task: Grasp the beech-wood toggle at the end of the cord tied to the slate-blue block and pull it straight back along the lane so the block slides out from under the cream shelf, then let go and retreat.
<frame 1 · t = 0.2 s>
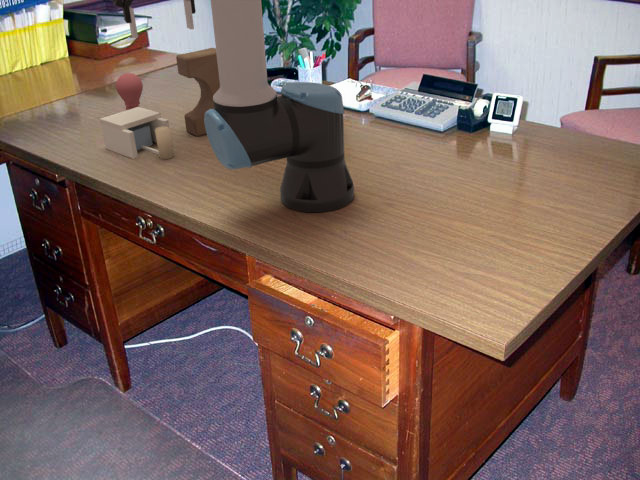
hand: (163, 32, 166), 27 cm above the table, fingers open, 13 cm apart
tethered block: (135, 145, 177), on the table
decorative block: (209, 130, 186), on the table
shelf lane: (141, 147, 176), on the table
light bulb: (134, 116, 199), on the table
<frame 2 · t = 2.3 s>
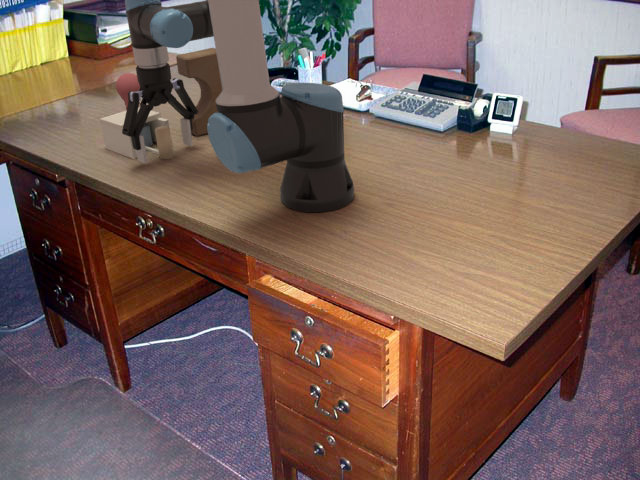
hand: (166, 153, 169), 1 cm above the table, fingers open, 13 cm apart
nothing on the table moved.
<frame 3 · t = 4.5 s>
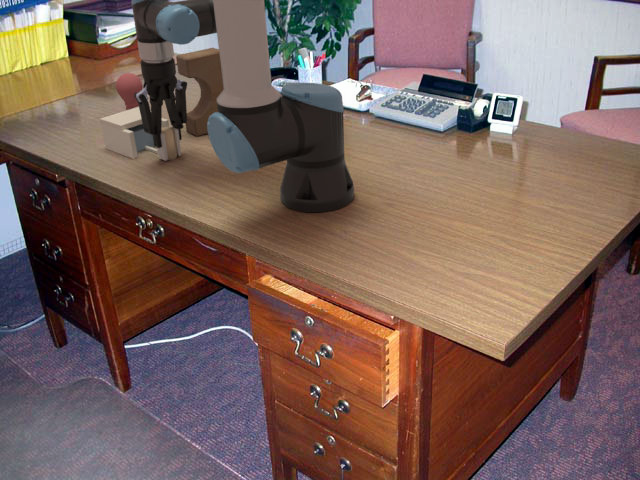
hand: (170, 156, 169), 0 cm above the table, fingers closed on tethered block, 3 cm apart
tethered block: (139, 146, 177), on the table, touching gripper
everything else where it was.
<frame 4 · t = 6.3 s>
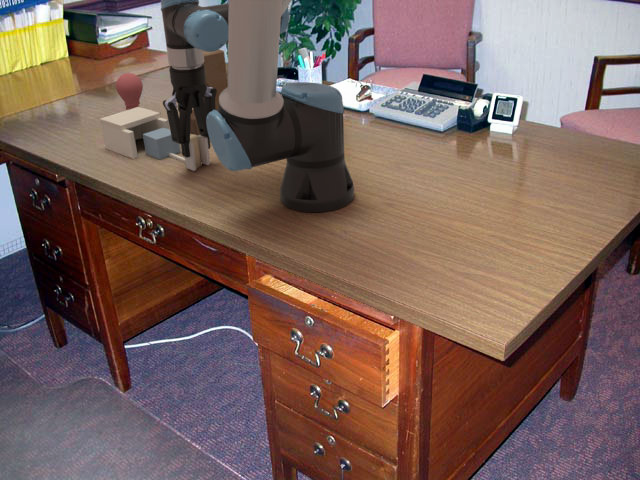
hand: (198, 165, 163), 0 cm above the table, fingers closed on tethered block, 3 cm apart
tethered block: (163, 153, 172), on the table, touching gripper
everything else where it was.
when the fingers open (0 cm above the table, at t = 8.1 s): tethered block stays where it is, on the table.
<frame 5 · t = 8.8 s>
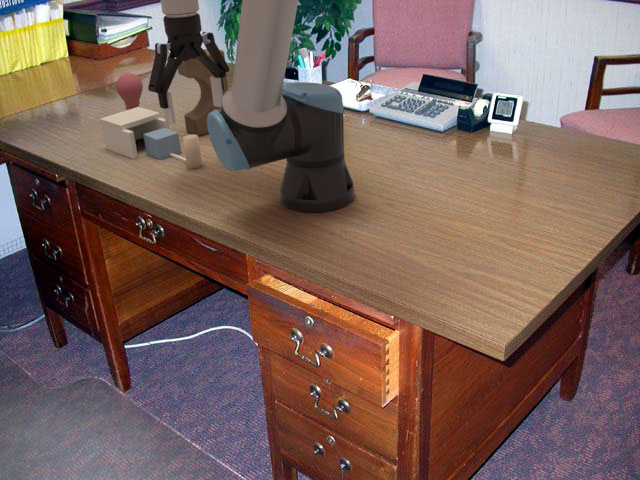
hand: (195, 114, 155), 13 cm above the table, fingers open, 13 cm apart
tethered block: (163, 153, 172), on the table
everything else where it was.
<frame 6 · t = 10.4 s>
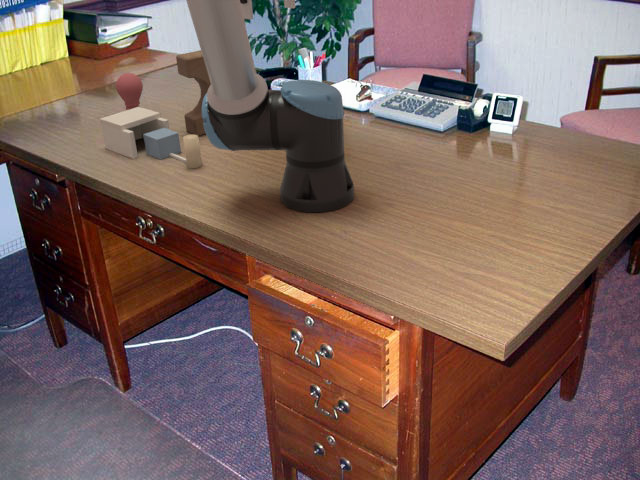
hand: (269, 13, 158), 31 cm above the table, fingers open, 13 cm apart
nothing on the table moved.
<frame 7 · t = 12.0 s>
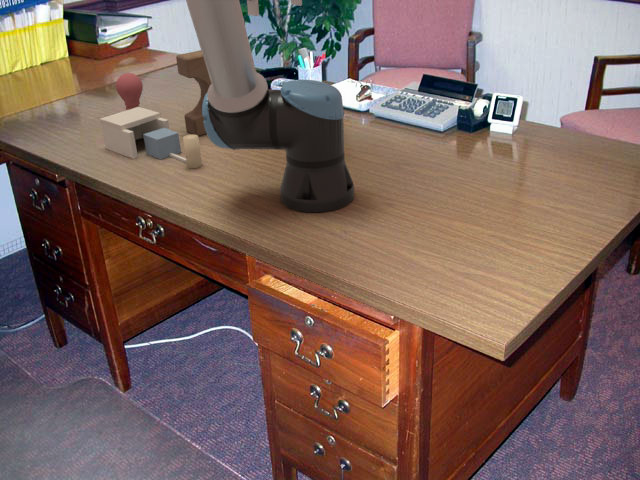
hand: (275, 10, 159), 32 cm above the table, fingers open, 13 cm apart
nothing on the table moved.
at the end: tethered block moved 10.2 cm from its start; the gripper is holding nothing; tethered block tilted 0° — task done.
